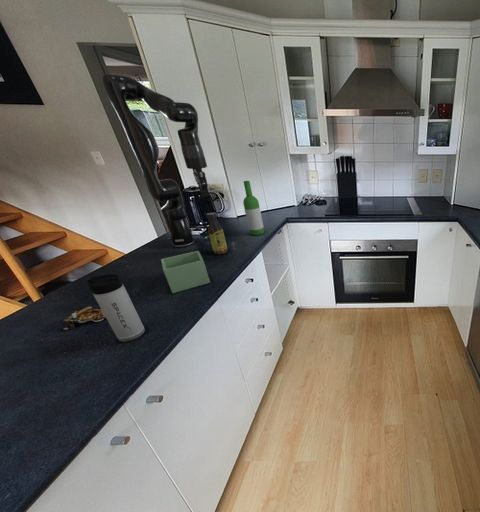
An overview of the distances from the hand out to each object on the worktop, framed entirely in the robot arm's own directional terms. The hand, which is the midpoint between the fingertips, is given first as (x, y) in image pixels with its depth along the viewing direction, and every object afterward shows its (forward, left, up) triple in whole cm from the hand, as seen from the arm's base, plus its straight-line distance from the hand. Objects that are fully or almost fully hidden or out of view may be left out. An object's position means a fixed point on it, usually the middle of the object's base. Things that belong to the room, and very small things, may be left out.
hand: (204, 194), depth 122 cm
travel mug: (+48, -34, -29) cm, 66 cm away
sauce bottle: (0, 0, -29) cm, 29 cm away
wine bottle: (-15, +22, -29) cm, 39 cm away
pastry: (+30, -44, -29) cm, 61 cm away
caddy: (+23, -16, -29) cm, 40 cm away
